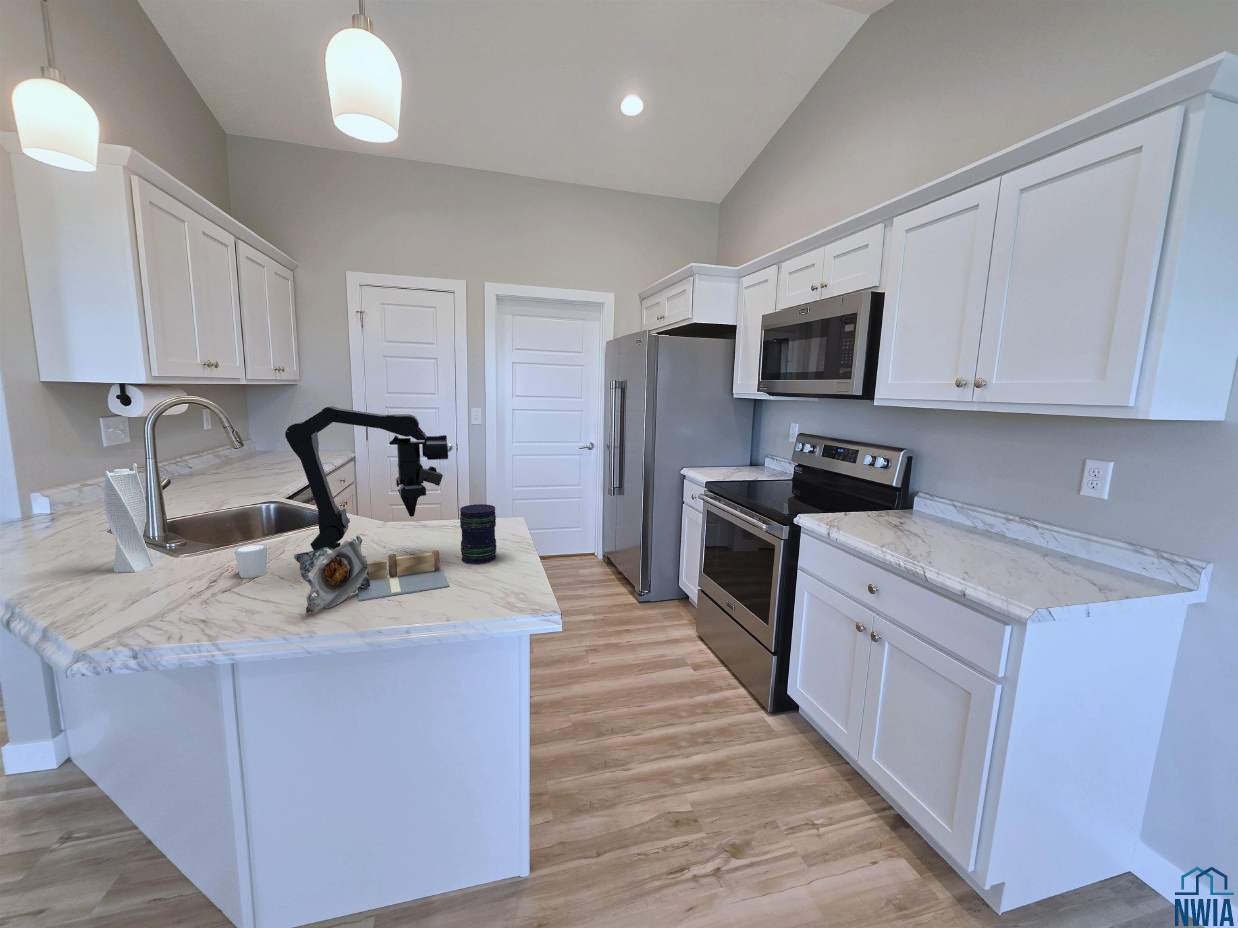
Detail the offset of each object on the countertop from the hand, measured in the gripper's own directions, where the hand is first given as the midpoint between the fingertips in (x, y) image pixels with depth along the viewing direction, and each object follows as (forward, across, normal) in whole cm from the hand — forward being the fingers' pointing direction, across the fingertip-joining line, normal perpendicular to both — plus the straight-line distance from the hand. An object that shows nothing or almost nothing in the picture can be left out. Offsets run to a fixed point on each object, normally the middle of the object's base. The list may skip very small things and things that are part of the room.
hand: (411, 515), depth 140 cm
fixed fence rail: (+13, -12, +10) cm, 20 cm away
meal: (+13, -22, +18) cm, 31 cm away
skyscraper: (+13, +23, +66) cm, 71 cm away
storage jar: (+13, -6, -17) cm, 22 cm away
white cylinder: (+13, +6, +38) cm, 41 cm away
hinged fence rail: (+12, -12, +1) cm, 17 cm away
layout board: (+13, -15, +4) cm, 20 cm away
